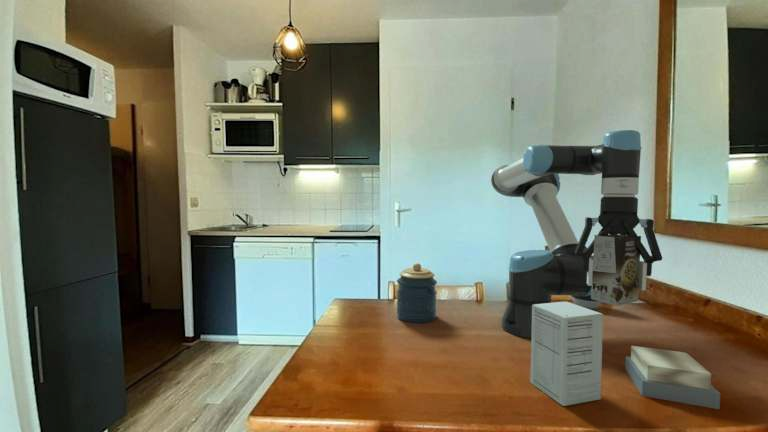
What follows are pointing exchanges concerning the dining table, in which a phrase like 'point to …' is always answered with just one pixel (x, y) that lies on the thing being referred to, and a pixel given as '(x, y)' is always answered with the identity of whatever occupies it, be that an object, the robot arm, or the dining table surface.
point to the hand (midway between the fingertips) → (614, 286)
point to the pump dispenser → (585, 301)
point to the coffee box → (615, 269)
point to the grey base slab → (672, 389)
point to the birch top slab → (670, 367)
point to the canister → (416, 295)
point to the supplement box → (566, 352)
